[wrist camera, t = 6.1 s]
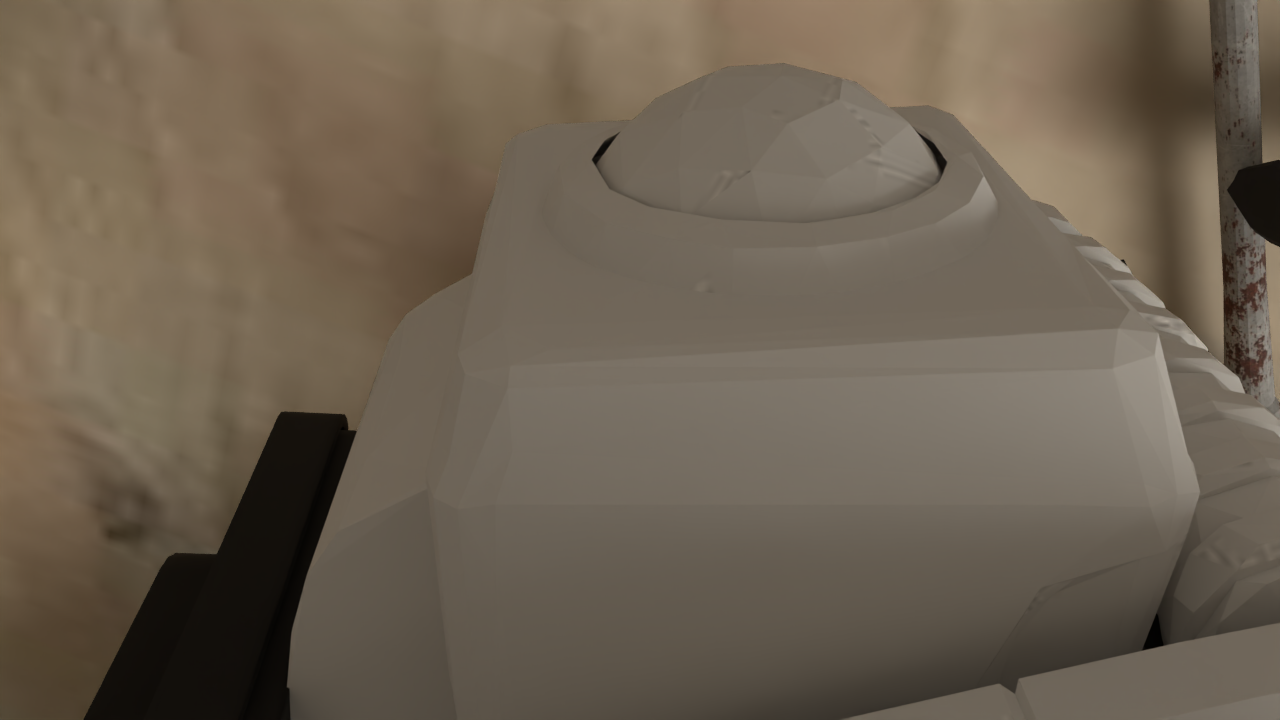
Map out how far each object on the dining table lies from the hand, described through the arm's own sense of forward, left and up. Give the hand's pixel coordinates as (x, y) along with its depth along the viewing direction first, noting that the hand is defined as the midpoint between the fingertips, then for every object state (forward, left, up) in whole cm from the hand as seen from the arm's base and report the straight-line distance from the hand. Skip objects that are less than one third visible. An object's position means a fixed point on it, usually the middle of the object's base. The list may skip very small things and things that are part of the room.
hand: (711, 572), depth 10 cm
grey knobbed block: (-5, -2, +2) cm, 6 cm away
